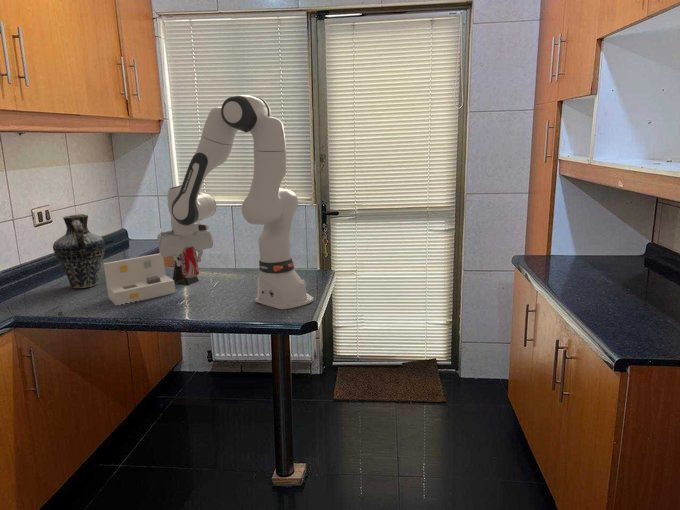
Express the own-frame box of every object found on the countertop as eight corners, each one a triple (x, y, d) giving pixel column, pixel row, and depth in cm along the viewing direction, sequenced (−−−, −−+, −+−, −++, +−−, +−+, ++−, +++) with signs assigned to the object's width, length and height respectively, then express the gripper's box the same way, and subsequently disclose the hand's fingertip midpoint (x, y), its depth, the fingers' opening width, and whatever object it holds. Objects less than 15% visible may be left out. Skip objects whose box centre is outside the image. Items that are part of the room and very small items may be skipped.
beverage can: (196, 278, 195) (192, 247, 192) (180, 279, 195) (175, 248, 193) (201, 273, 201) (197, 243, 198) (185, 274, 201) (181, 245, 199)
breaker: (161, 287, 199) (159, 277, 198) (150, 289, 197) (149, 279, 196) (158, 285, 202) (156, 275, 201) (147, 287, 200) (146, 277, 199)
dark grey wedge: (172, 283, 213) (168, 255, 210) (182, 279, 218) (178, 252, 215) (188, 285, 209) (185, 256, 206) (198, 281, 214) (195, 253, 211)
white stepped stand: (176, 292, 200) (171, 258, 196) (116, 306, 187) (110, 269, 184) (165, 286, 209) (161, 252, 206) (108, 298, 197) (103, 263, 194)
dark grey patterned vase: (55, 286, 218) (42, 216, 211) (103, 276, 230) (92, 210, 223) (67, 296, 203) (53, 221, 195) (118, 285, 215) (106, 214, 207)
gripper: (159, 234, 186) (165, 270, 189) (212, 224, 197) (217, 259, 200) (153, 232, 191) (159, 268, 194) (206, 223, 202) (211, 257, 205)
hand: (189, 263), depth 197 cm, fingers closed on beverage can, 6 cm apart
